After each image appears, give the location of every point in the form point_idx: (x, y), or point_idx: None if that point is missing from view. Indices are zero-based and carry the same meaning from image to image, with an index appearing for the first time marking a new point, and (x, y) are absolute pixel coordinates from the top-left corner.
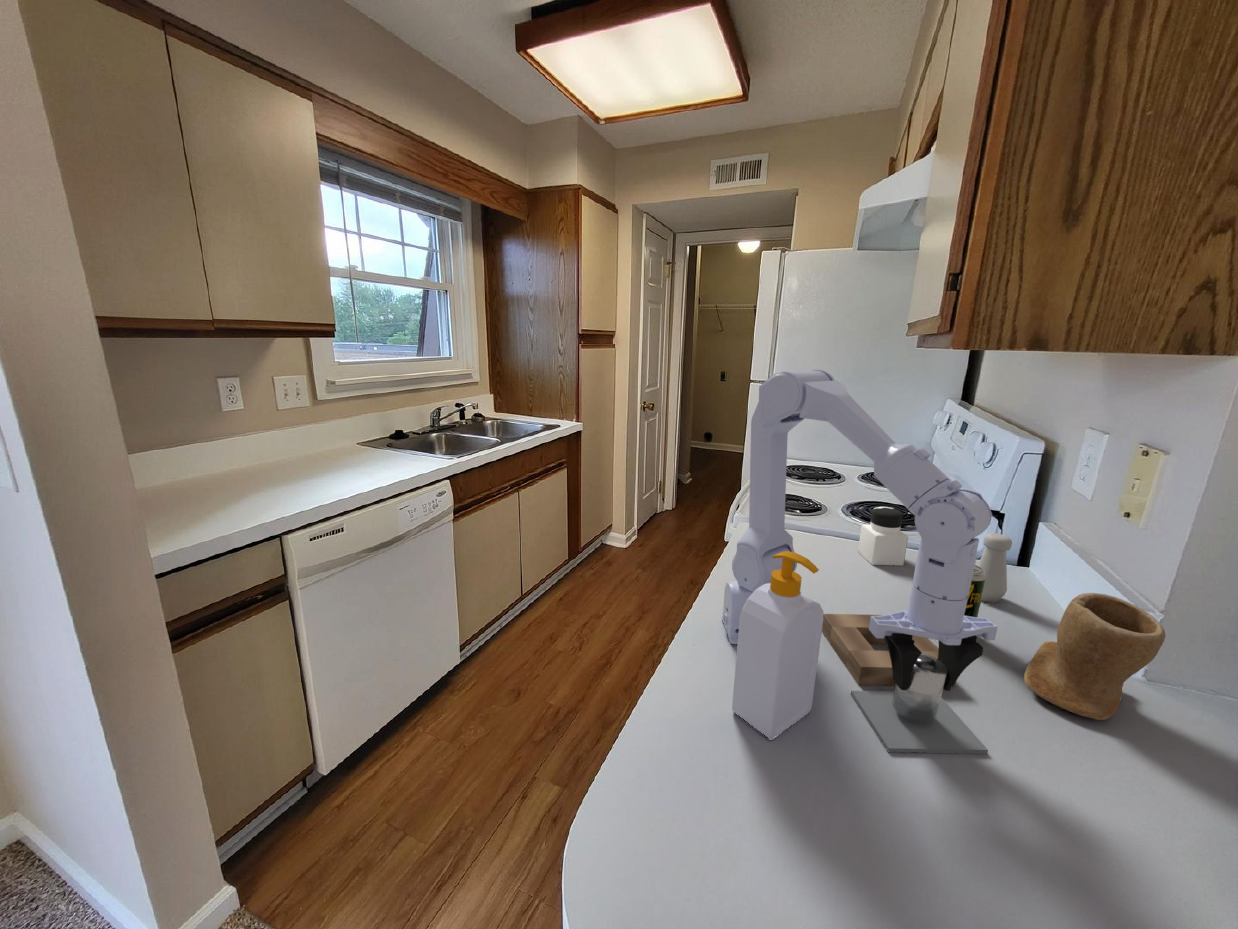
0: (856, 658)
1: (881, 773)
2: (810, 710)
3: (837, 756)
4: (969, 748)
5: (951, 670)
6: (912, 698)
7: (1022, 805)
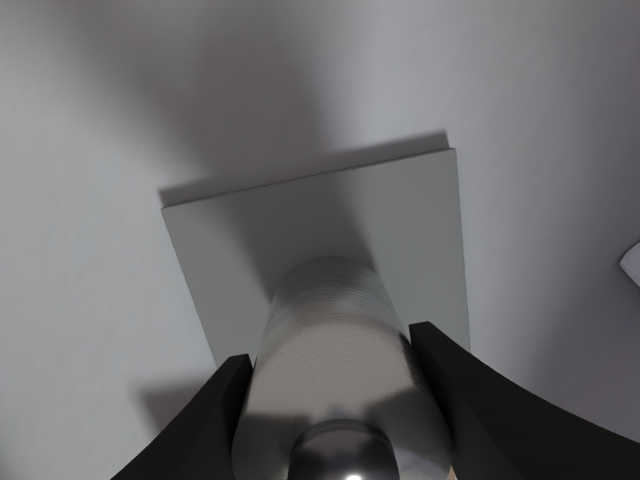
0: (449, 473)
1: (504, 55)
2: (621, 261)
3: (611, 96)
4: (211, 203)
5: (212, 440)
6: (378, 302)
7: (131, 21)
